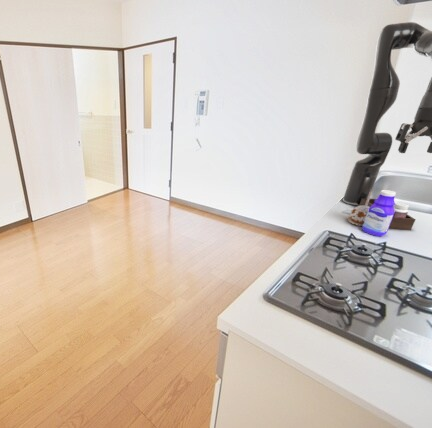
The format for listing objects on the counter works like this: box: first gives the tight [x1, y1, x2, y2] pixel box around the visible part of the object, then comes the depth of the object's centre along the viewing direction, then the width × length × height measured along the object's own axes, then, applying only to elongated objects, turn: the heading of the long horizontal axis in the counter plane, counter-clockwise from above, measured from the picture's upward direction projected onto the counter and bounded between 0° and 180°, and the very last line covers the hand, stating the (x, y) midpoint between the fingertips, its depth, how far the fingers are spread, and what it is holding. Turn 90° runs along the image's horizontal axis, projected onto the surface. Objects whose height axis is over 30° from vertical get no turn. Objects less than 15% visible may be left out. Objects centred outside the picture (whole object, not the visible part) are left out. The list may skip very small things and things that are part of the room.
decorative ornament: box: [347, 189, 374, 227], centre depth 114 cm, size 8×8×15 cm
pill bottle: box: [393, 202, 410, 218], centre depth 112 cm, size 5×5×8 cm
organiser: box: [359, 198, 416, 231], centre depth 120 cm, size 21×8×5 cm, turn 167°
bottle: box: [362, 189, 397, 237], centre depth 106 cm, size 7×6×17 cm
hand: (415, 152), depth 102 cm, fingers open, 8 cm apart
